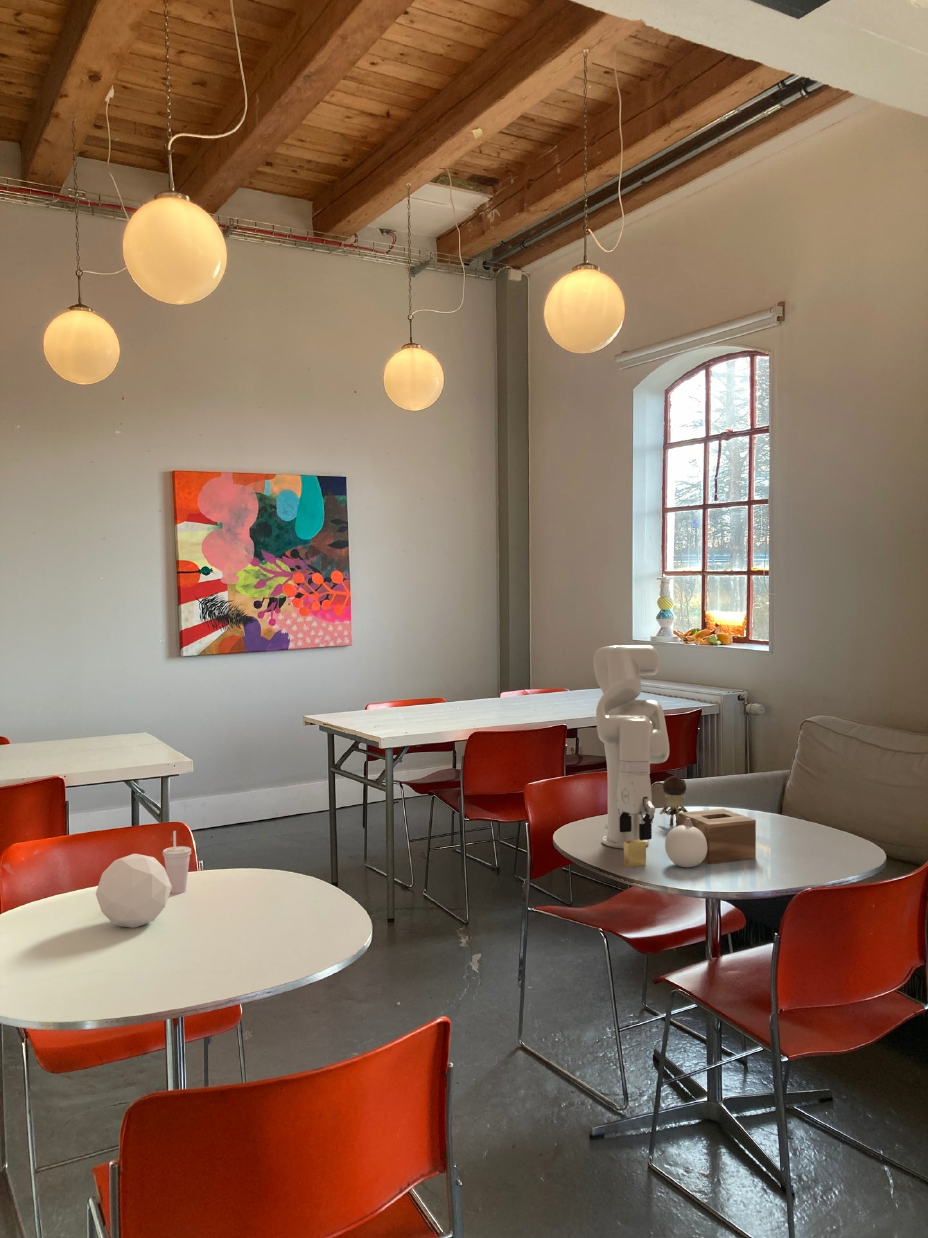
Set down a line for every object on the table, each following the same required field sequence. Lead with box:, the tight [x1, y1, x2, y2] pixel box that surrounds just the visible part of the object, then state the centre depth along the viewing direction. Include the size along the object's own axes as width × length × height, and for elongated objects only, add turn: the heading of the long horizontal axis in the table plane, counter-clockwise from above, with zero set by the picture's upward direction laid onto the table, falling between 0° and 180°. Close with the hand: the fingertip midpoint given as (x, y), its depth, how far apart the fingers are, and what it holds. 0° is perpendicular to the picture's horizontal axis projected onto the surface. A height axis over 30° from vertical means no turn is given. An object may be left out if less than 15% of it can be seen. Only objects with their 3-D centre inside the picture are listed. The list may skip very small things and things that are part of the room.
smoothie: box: [162, 830, 192, 895], centre depth 211 cm, size 6×6×14 cm
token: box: [623, 839, 647, 868], centre depth 231 cm, size 2×5×6 cm, turn 110°
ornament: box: [664, 818, 707, 868], centre depth 229 cm, size 10×10×12 cm
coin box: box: [678, 808, 757, 865], centre depth 240 cm, size 14×14×10 cm
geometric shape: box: [95, 853, 172, 929], centre depth 190 cm, size 14×15×15 cm
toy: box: [659, 775, 689, 827], centre depth 271 cm, size 9×7×15 cm
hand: (635, 835), depth 229 cm, fingers open, 9 cm apart
